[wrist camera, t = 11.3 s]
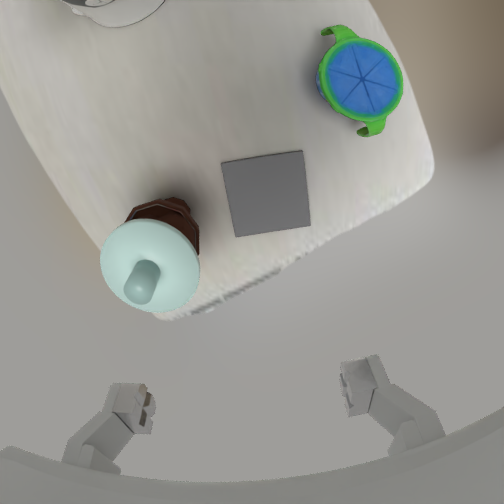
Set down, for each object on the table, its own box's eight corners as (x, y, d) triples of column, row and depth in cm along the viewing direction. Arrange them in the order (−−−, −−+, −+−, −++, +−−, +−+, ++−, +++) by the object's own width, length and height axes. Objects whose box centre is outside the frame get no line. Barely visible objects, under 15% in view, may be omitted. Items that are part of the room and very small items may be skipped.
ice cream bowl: (207, 180, 45) (191, 219, 32) (206, 246, 50) (194, 303, 37) (140, 179, 44) (101, 217, 31) (145, 243, 50) (115, 297, 36)
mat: (221, 162, 44) (220, 164, 43) (302, 150, 43) (303, 151, 42) (235, 235, 49) (235, 237, 49) (309, 223, 49) (310, 225, 48)
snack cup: (291, 38, 35) (304, 22, 26) (358, 30, 33) (387, 17, 25) (317, 137, 42) (337, 149, 33) (381, 125, 41) (413, 136, 32)
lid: (90, 229, 32) (70, 250, 27) (185, 209, 31) (175, 230, 27) (124, 310, 37) (112, 337, 33) (210, 300, 37) (207, 329, 32)
